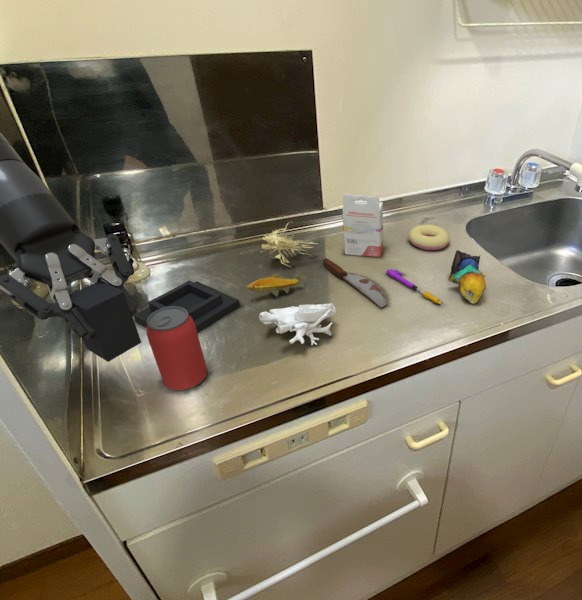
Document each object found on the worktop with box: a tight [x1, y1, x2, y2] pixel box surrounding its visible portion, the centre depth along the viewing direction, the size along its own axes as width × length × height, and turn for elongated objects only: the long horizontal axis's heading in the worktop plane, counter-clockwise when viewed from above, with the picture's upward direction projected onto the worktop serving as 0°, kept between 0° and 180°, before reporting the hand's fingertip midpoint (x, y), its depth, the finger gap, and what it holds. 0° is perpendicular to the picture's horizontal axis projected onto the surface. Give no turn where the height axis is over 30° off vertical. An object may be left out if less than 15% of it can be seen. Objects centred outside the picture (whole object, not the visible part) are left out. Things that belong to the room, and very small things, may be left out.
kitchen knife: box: [322, 258, 388, 309], centre depth 99 cm, size 21×2×5 cm
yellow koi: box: [245, 273, 308, 298], centre depth 94 cm, size 12×2×5 cm, turn 121°
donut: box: [408, 224, 450, 251], centre depth 114 cm, size 10×5×9 cm
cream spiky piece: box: [259, 220, 318, 268], centre depth 104 cm, size 11×15×9 cm
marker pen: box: [386, 268, 443, 305], centre depth 98 cm, size 3×1×16 cm
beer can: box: [146, 306, 208, 391], centre depth 72 cm, size 7×7×12 cm
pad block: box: [69, 280, 142, 363], centre depth 59 cm, size 5×5×8 cm
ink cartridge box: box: [341, 193, 384, 258], centre depth 107 cm, size 9×5×15 cm, turn 83°
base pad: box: [133, 280, 241, 334], centre depth 88 cm, size 14×12×4 cm
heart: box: [258, 303, 337, 346], centre depth 83 cm, size 12×7×12 cm
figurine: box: [447, 249, 488, 305], centre depth 97 cm, size 11×8×6 cm, turn 169°
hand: (113, 324), depth 58 cm, fingers closed on pad block, 4 cm apart
